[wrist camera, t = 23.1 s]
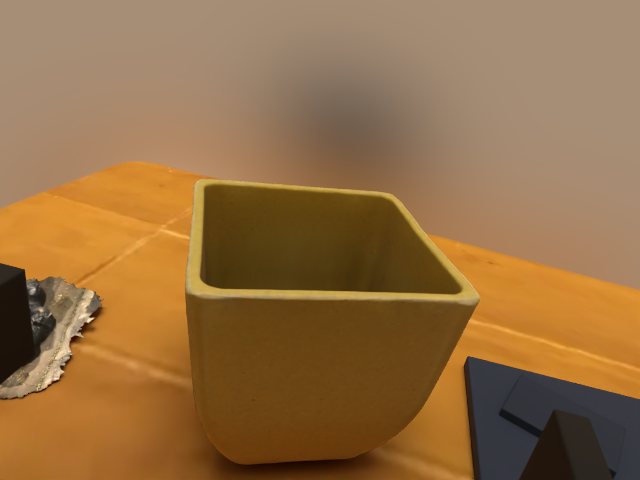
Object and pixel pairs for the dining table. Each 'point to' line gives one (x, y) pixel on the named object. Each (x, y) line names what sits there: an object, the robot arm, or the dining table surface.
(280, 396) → the flower pot
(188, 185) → the dining table surface
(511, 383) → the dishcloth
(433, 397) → the dining table surface
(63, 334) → the grey mineral rock
